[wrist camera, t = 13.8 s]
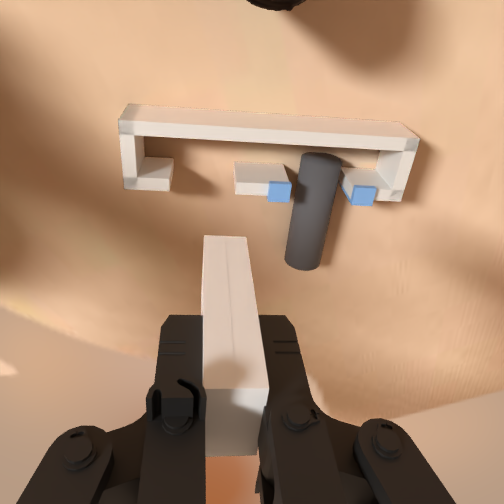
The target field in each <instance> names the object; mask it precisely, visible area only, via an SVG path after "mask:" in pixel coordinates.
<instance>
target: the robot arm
mask: <svg viewBox="0 0 504 504" xmlns="http://www.w3.org/2000/svg"><path fill="white" fill-rule="evenodd" d="M146 411H147V412H146V413H145V414H144V415H143V416H142V417H141V418H140V419H138V420H137V421H135V422H134V423H132V424H130V425H127V426H125V427H122V428H119V429H116V430H113V431H110V432H105V431H104V430H103V429H100V428H98V427H95V426H79V427H76V428H72V429H70V430H68V431H67V432H65V433H64V434H62V435H60V436H59V437H58V438H57V439H56V440H55V441H54V443H53V444H52V445H51V446H50V447H49V449H48V451H47V452H46V454H45V456H44V457H43V459H42V461H41V463H40V464H39V466H38V468H37V469H36V471H35V473H34V474H33V476H32V478H31V479H30V481H29V483H28V485H27V486H26V488H25V490H24V491H23V493H22V495H21V496H20V498H19V500H18V502H17V503H16V504H206V499H205V498H206V497H205V496H206V493H205V492H206V485H205V483H206V481H205V479H206V475H205V457H214V456H245V455H257V449H259V458H260V466H259V471H258V476H257V481H256V488H255V493H259V492H260V502H261V504H456V503H455V502H454V500H453V498H452V497H451V496H450V494H449V493H448V491H447V490H446V488H445V487H444V485H443V484H442V482H441V481H440V480H439V478H438V477H437V475H436V474H435V472H434V471H433V469H432V468H431V467H430V465H429V464H428V462H427V461H426V459H425V458H424V456H423V455H422V454H421V452H420V451H419V449H418V448H417V446H416V445H415V444H414V442H413V440H412V439H411V437H410V436H409V435H408V434H407V433H406V432H405V431H404V430H403V429H402V428H401V427H400V426H398V425H397V424H395V423H393V422H392V421H388V420H385V419H381V418H379V419H370V420H368V421H366V422H365V423H363V424H362V426H361V427H358V426H355V425H351V424H348V423H344V422H341V421H338V420H336V419H333V418H331V417H329V416H328V415H326V414H325V413H323V412H322V411H321V410H320V408H319V407H318V406H317V405H316V404H315V402H314V401H313V398H312V395H311V393H310V388H309V384H308V380H307V376H306V372H305V368H304V364H303V360H302V356H301V354H300V348H299V344H298V340H297V336H296V332H295V328H294V326H293V325H292V324H291V322H290V321H289V320H288V319H287V317H286V316H285V315H258V311H257V304H256V298H255V291H254V285H253V278H252V272H251V265H250V259H249V252H248V246H247V239H246V237H239V236H213V235H204V248H203V270H202V291H201V315H169V317H168V318H167V319H166V321H165V322H164V324H163V325H162V327H161V333H160V341H159V349H158V357H157V366H156V374H155V382H154V384H153V385H152V387H151V388H150V389H149V392H148V394H147V397H146Z"/></svg>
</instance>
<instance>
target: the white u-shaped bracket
mask: <svg viewBox="0 0 504 504" xmlns="http://www.w3.org/2000/svg"><path fill="white" fill-rule="evenodd" d="M118 126H119V137H120V148H121V159H122V170H123V181H124V189H130V190H152V191H170V186H171V181H172V176H173V171H174V158H159V157H145V152H144V136H155V137H172V138H189V139H206V140H223V141H240V142H257V143H274V144H291V145H308V146H325V147H342V148H360V149H377V150H380V153H379V157H378V161H377V165H376V168H375V169H365V168H347V167H341V171H340V175H339V180H338V183H339V184H340V186H341V188H342V190H343V191H344V193H345V195H346V196H347V198H348V200H349V202H350V203H351V205H360V206H372V204H373V200H375V201H398V202H401V199H402V196H403V193H404V189H405V186H406V183H407V180H408V177H409V173H410V170H411V167H412V164H413V161H414V157H415V154H416V151H417V148H418V145H419V141H420V138H419V137H418V136H416V135H415V134H414V133H413V132H411V131H410V130H409V129H408V128H406V127H405V126H404V125H403V124H402V123H400V122H394V121H379V120H364V119H349V118H334V117H319V116H304V115H289V114H274V113H259V112H244V111H229V110H214V109H199V108H184V107H169V106H154V105H139V104H128V105H127V107H126V108H125V110H124V111H123V113H122V114H121V116H120V118H119V119H118ZM233 175H234V185H235V194H241V195H264V196H267V200H268V202H289V200H290V193H291V187H292V184H291V182H289V180H288V177H287V174H286V171H285V168H284V166H283V164H272V163H253V162H234V170H233Z"/></svg>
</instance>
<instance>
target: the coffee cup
mask: <svg viewBox="0 0 504 504" xmlns="http://www.w3.org/2000/svg"><path fill="white" fill-rule="evenodd" d="M247 1H248V2H250V3H251V4H253V5H255V6H258V7H260V8H264V9H267V10H275V11H280V10H287V11H291V10H292V8H293V7H294V6H297V5H299V4H300V3H302V2H304V1H306V0H247Z"/></svg>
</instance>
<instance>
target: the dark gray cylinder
mask: <svg viewBox="0 0 504 504" xmlns="http://www.w3.org/2000/svg"><path fill="white" fill-rule="evenodd" d="M341 166H342V161H341V159H339V158H338V157H336V156H334V155H331V154H327V153H315V152H308V153H304V154H303V155H302V156H301V162H300V168H299V174H298V180H297V186H296V192H295V198H294V204H293V210H292V216H291V222H290V228H289V234H288V240H287V246H286V252H285V261H286V263H287V264H288V265H289V266H291V267H293V268H295V269H298V270H304V271H309V270H314V269H316V268H317V267H318V266H319V264H320V260H321V255H322V251H323V246H324V242H325V237H326V233H327V229H328V224H329V220H330V215H331V211H332V206H333V202H334V197H335V193H336V188H337V184H338V180H339V175H340V171H341Z"/></svg>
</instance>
